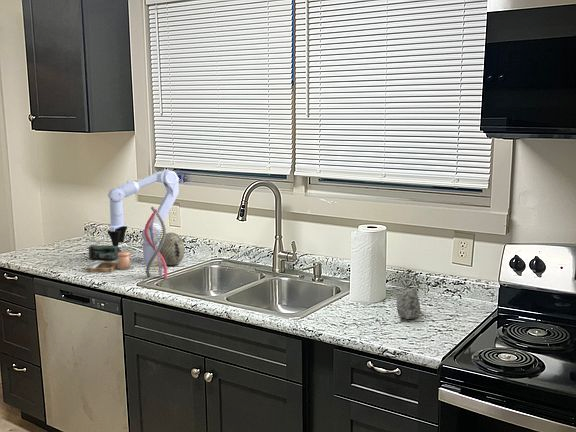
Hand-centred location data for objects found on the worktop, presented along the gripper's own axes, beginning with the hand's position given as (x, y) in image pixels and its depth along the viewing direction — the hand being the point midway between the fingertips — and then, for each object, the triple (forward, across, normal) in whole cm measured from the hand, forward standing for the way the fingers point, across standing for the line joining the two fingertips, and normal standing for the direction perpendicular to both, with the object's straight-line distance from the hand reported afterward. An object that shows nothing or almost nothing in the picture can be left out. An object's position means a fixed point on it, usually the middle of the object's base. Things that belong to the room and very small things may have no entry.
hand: (118, 244), depth 287 cm
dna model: (+10, +21, +23) cm, 33 cm away
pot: (+9, +7, +5) cm, 13 cm away
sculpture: (+10, -11, -11) cm, 19 cm away
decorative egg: (+10, -2, +24) cm, 26 cm away
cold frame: (+10, +8, -4) cm, 13 cm away
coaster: (+10, +7, +6) cm, 13 cm away
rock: (+10, +65, +123) cm, 139 cm away
